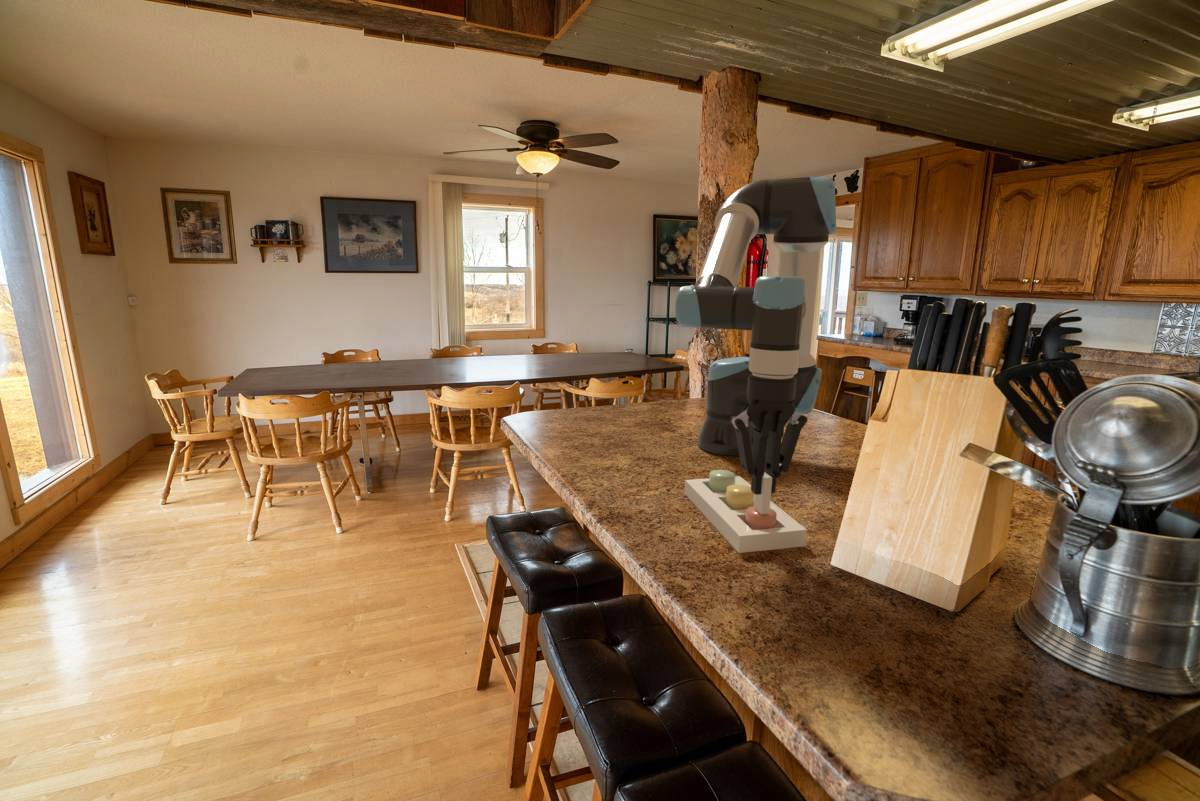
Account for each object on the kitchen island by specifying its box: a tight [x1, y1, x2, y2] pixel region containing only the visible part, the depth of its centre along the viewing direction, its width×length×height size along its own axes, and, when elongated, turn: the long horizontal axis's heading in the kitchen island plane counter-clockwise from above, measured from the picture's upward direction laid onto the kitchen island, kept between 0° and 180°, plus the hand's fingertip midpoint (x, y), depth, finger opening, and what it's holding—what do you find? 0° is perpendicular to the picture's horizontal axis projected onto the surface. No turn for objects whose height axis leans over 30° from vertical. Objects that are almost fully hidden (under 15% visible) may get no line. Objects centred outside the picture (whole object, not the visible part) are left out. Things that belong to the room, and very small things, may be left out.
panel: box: [683, 475, 808, 554], centre depth 103 cm, size 12×25×3 cm, turn 12°
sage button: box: [708, 469, 736, 493], centre depth 110 cm, size 5×5×3 cm
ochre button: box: [726, 484, 754, 510], centre depth 102 cm, size 5×5×3 cm
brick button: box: [745, 506, 777, 530], centre depth 95 cm, size 5×5×3 cm
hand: (761, 510), depth 94 cm, fingers closed
